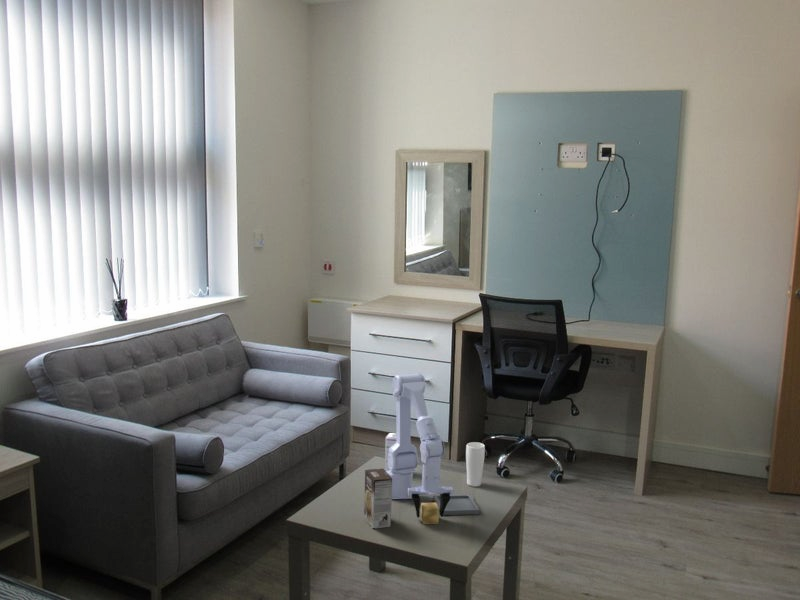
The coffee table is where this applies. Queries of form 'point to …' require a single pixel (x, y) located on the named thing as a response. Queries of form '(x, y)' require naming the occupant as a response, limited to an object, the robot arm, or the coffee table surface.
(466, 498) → the tray
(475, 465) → the drinking glass
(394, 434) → the syrup box
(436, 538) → the coffee table surface
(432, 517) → the cube
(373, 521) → the coffee box
